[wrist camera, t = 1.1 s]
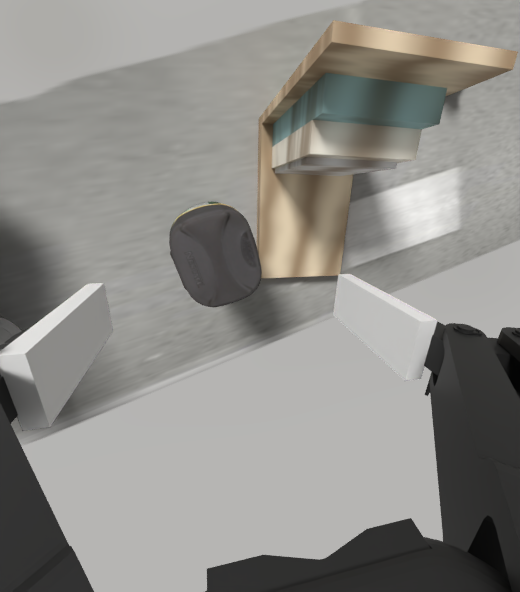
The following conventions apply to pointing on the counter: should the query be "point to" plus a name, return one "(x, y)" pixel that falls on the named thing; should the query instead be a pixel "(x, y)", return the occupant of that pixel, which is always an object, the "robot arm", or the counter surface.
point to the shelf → (349, 132)
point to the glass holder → (7, 330)
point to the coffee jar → (215, 254)
